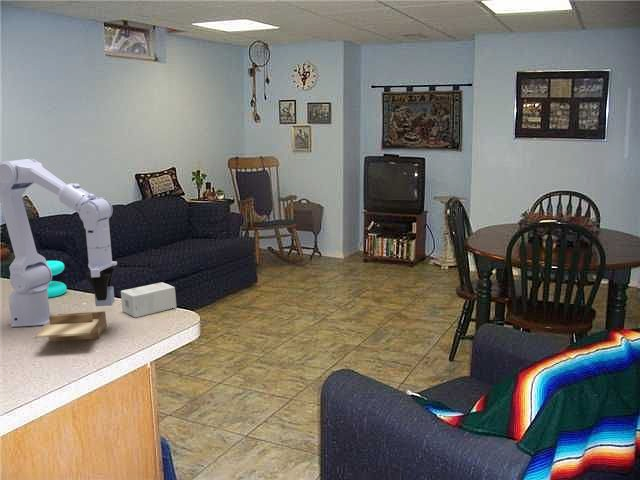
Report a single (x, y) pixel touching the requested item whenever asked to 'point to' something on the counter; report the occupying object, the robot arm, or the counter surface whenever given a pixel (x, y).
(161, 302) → the small box
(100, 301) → the block
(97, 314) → the wooden box
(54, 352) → the counter surface
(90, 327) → the lid
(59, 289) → the donuts
